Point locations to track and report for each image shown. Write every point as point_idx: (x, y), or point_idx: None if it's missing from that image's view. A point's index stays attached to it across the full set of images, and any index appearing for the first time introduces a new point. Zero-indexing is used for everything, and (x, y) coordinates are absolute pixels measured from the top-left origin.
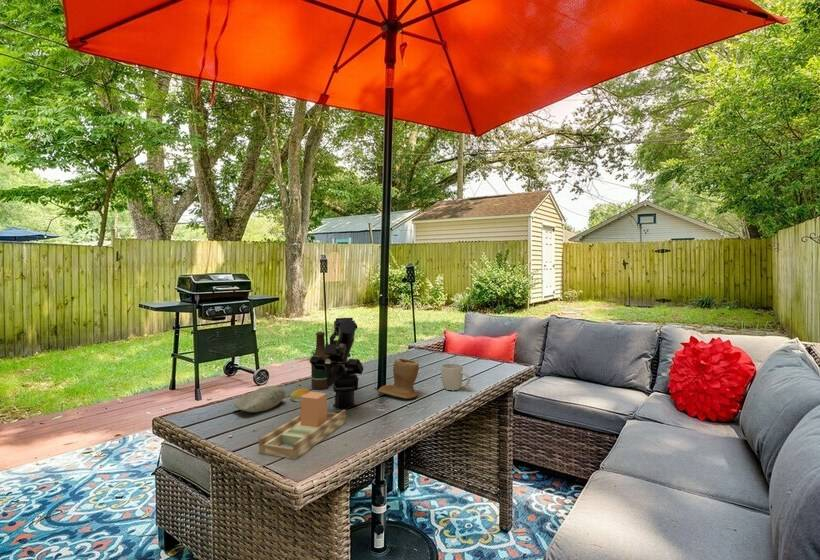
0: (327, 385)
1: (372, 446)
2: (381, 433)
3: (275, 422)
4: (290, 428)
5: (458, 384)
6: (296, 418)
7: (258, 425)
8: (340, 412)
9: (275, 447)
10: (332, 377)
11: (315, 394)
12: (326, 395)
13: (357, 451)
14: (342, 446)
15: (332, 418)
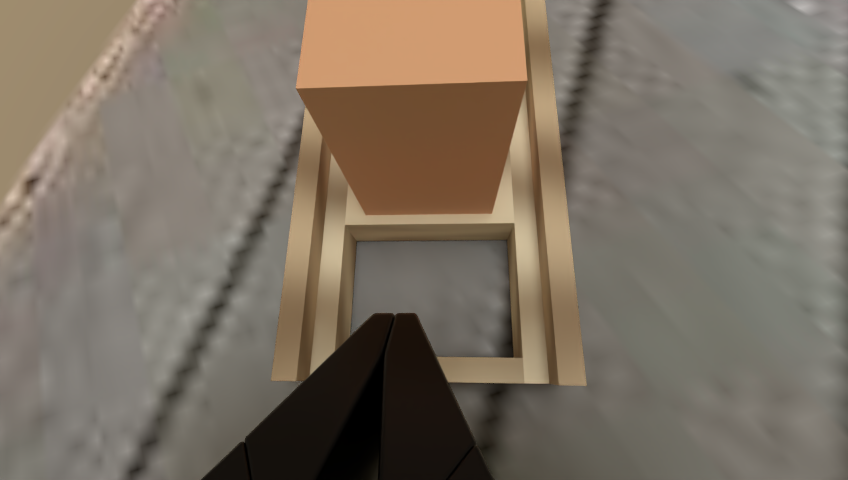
0: (403, 313)
1: (79, 115)
2: (49, 267)
3: (745, 217)
4: None
5: None
6: (540, 105)
7: (798, 145)
8: (292, 307)
9: None
10: (289, 408)
11: (406, 17)
12: (305, 95)
13: (136, 56)
14: (213, 74)
15: (303, 179)
